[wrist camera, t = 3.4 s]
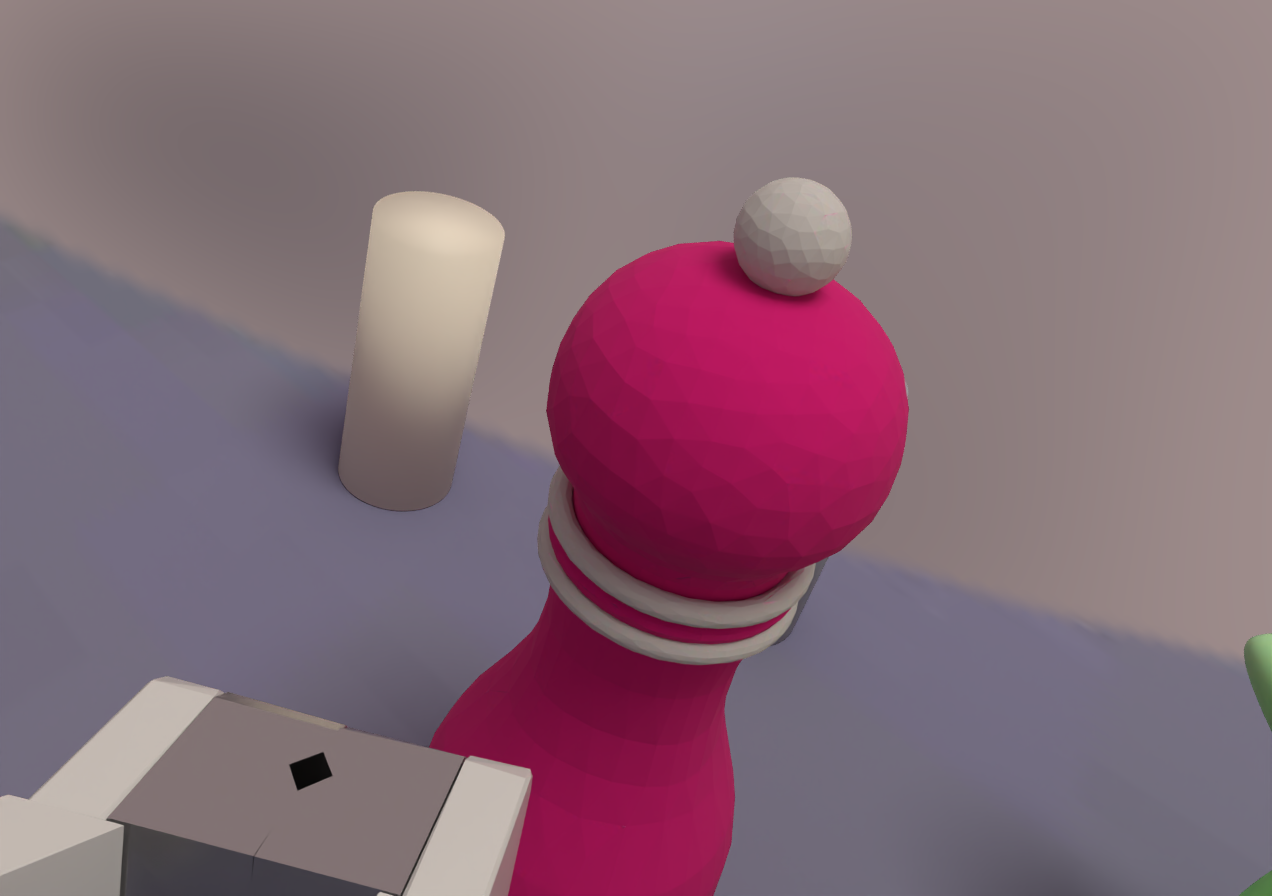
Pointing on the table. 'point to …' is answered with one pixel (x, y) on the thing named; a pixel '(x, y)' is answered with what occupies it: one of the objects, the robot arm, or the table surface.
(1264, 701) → the toy bird
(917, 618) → the table surface
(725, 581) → the pepper mill
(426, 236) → the cream post
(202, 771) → the robot arm
